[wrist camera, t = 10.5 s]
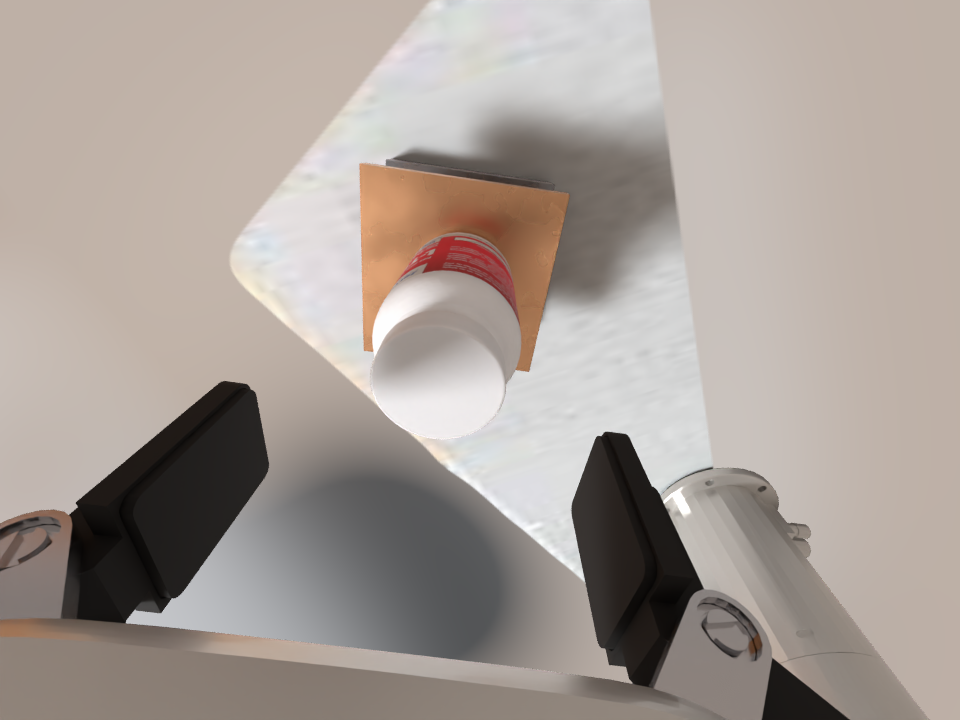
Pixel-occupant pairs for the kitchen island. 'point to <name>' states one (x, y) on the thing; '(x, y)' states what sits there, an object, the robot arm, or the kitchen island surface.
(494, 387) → the pill bottle
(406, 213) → the stand
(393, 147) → the kitchen island surface
